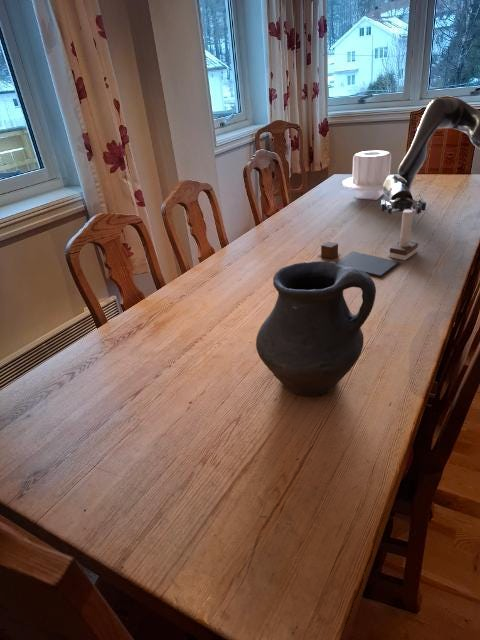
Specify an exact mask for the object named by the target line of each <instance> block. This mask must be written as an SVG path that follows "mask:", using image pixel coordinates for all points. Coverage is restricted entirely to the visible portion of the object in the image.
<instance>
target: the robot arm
mask: <svg viewBox="0 0 480 640" xmlns="http://www.w3.org/2000/svg"><path fill="white" fill-rule="evenodd" d="M439 129H454V130H457V131H460V132H462V133H464V134H466V135H467V136H468V138H469V140H470V142H471V144H472V145H473V146H474V147H475V148H477V149H478V150H480V110H478V109H477V108H475V107H473V106H472V105H470V104H469V103H468V102H466V101H465V100H463V99H461V98H459V97H438V98H435V99H433V100H431V102H429V104H428V105H427V107H426V109H425V111H424V113H423V115H422V117H421V120H420V123H419V125H418V127H417V130H416V133H415V135H414V138H413V140H412V143H411V145H410V147H409V149H408V151H407V152H406V155H405V156H404V157H403V159H402V161H401V162H400V164H399V166H398V168H397V174H398V175H399V176H397V175H394V174H393V175H391V174H390V176H389V177H387V178H386V180H385V181H384V183H383V191H384V193H383V194H384V195H386V196H387V197H388V200H386V199H381V203H380V212H382V213H383V212H385V211H386V213H387V214H388V215H389V216H390V215H392V214H393V212H397V213H403V211H404V210H412V211H413V212H415V214H416V215H420V213H422V211H423V212H425V211H426V206H427V202H426V200H425V199H424V198H419V200H416V199H414V197H413V194H412V192H411V190H412V187H413V184H414V183H413V182H414V180H415V178H416V177H417V174H418V173H419V171H420V169H421V168H422V167H423V165H424V163H425V161H426V159H427V155H428V144H429V141H430V139H431V137H432V135H433V134H434V133H435V132H436V131H437V130H439Z"/></svg>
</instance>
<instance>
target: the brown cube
mask: <svg viewBox="0 0 480 640" xmlns="http://www.w3.org/2000/svg"><path fill="white" fill-rule="evenodd" d="M337 256H339V243H337V242H332V241H326V242H324V243H322V244H320V257H321V258H326V259H329V260H332V259H334V258H335V257H337Z"/></svg>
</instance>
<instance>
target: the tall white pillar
mask: <svg viewBox="0 0 480 640" xmlns="http://www.w3.org/2000/svg"><path fill="white" fill-rule="evenodd" d="M413 213H414V211H412V210H404V211H403V212H402V216H401V228H400V237H399V241H398V242H397V243H395V244H393V245H392V246H391V247H389V253H390V255H389V257H390V258H393V259H398V260H401V261H406V260H407V259H409V258H410V257H412V256H413V255H414V254H416V253H417V252H418V251H417V250H418V248H419V242H416V241H411V240H410V239H411V232H412V222H413Z"/></svg>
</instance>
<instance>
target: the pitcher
mask: <svg viewBox="0 0 480 640" xmlns="http://www.w3.org/2000/svg"><path fill="white" fill-rule="evenodd" d="M336 263H337V262H334V261H323V260H322V261H320V260H319V261H318V260H317V261H309V262H305V261H304V262H298V263H292V264H290V265H286V266H283V267H281V268H280V269H278V270H276V272H275V273H274V275H273V278H272V281H273V282H272V284H273V285H272V286H273V287H274V289H275V290H276V291H277V294H278V296H277V299H276V302H275V304H274V306H273V309H272V310H271V311H270V313H269V315H268V316H267V317H266V319H265V320H264V321H263V323H262V324H261V325H260V327H259V330H258V331H257V334H256V338H255V341H256V342H255V348H256V351H257V354H258V356H259V358H260V360H261V361H262V363H263V364H264V366H265V367H267V369H268V370H269V371H270V372H271V373H272V374H273V375H274V377H275V378H276V379H277V380H278V381H279V382H280V383H281V384H282V386H283V387H284V388H285V389H286V390H288V391H290V392H292V393H293V394H295V395H299V396H303V397H321V396H324V395H328V394H329V393H330V392H331V391H332V390H333V388H335V387H336V385H337V384H338V383H339V382H340V381H341V380H342V379H343V378H344V377H345V376H346V375H348V373H349V372H350V371H351V370H352V368H353V367H354V366H355V365H356V363H357V362H358V360H359V358H360V357H361V354H362V351H363V347H364V338H365V337H364V333H363V331H362V326H363V325H364V323H365V322H366V321H367V319H368V318H369V316H370V314H371V312H372V310H373V308H374V305H375V300H376V296H377V287H376V284H375V282H374V280H373V278H371V275H370V274H367V273H366V272H364V271H363V270H360V269H357V268H353V267H346V266H342V265H339V264H336ZM350 288H357V289H360V290H361V298H362V303H361V304H360V306H359V310H358V312H356V314H353V312H351V310H350V308H349V306H348V303H347V302H346V300H345V299H346V298H345V297H344V291H345V290H347V289H350Z"/></svg>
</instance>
